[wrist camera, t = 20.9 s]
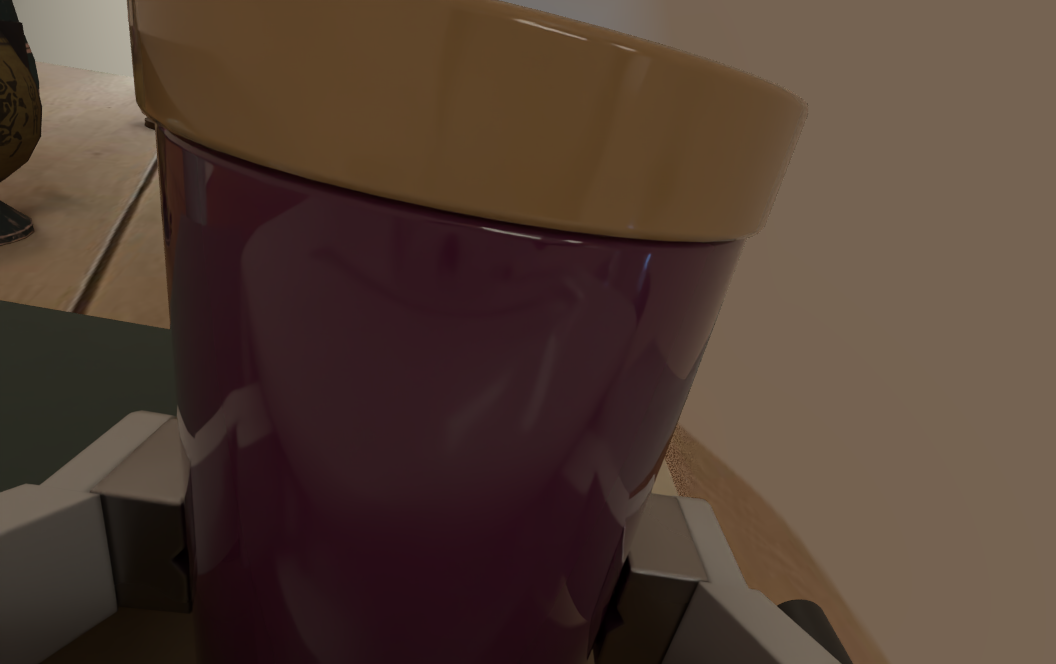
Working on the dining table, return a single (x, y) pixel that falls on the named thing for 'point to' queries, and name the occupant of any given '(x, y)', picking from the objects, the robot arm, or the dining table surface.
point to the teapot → (16, 114)
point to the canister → (434, 310)
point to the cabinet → (72, 385)
